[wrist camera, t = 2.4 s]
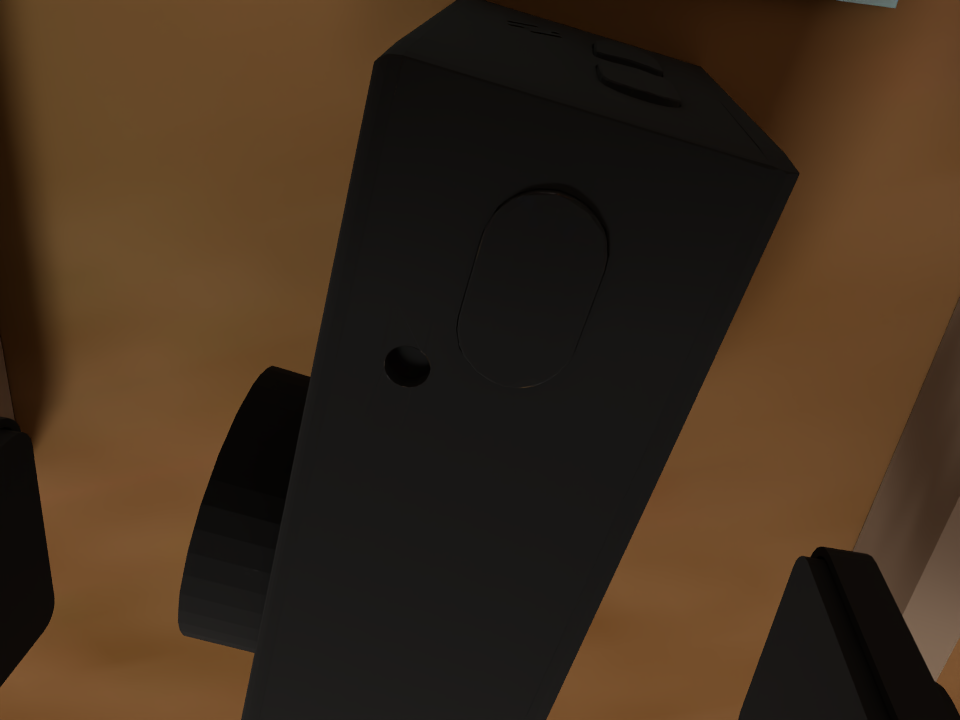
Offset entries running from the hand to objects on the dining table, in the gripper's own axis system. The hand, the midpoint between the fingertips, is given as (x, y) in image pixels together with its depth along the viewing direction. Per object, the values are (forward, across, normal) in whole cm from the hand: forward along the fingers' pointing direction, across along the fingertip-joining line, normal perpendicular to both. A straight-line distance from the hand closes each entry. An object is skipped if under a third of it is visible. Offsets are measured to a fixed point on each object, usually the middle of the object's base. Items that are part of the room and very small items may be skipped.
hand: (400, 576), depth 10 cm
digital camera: (+7, 0, -1) cm, 8 cm away
